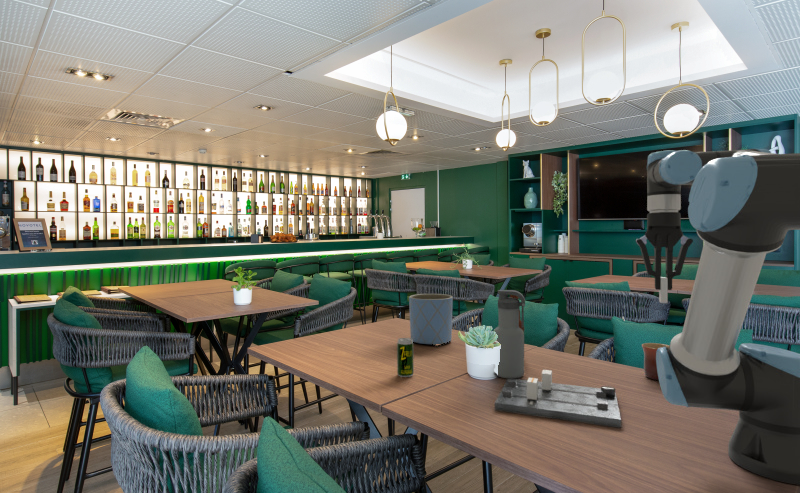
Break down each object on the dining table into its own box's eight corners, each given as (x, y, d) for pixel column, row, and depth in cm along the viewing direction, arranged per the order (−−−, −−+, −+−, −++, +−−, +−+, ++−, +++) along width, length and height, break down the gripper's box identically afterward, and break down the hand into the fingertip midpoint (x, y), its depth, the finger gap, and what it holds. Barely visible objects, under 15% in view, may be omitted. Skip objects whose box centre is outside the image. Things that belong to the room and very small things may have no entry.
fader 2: (551, 390, 125) (551, 374, 125) (541, 389, 126) (541, 373, 126) (551, 385, 129) (551, 370, 129) (542, 384, 130) (542, 369, 130)
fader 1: (536, 399, 118) (536, 382, 118) (527, 398, 119) (526, 381, 119) (538, 394, 122) (538, 378, 122) (528, 393, 123) (528, 377, 123)
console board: (621, 427, 106) (621, 411, 106) (494, 410, 117) (494, 395, 117) (614, 396, 126) (614, 383, 126) (507, 384, 138) (507, 372, 138)
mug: (637, 373, 148) (638, 342, 148) (666, 374, 146) (666, 343, 146) (650, 384, 136) (650, 351, 136) (682, 386, 134) (682, 352, 134)
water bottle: (525, 371, 151) (525, 289, 150) (525, 380, 141) (525, 292, 141) (494, 369, 153) (494, 288, 153) (492, 378, 144) (492, 292, 143)
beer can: (395, 373, 149) (395, 338, 149) (410, 372, 151) (410, 337, 151) (400, 378, 144) (399, 342, 144) (415, 377, 146) (415, 340, 145)
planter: (460, 340, 198) (459, 295, 197) (440, 349, 181) (440, 300, 181) (422, 335, 208) (422, 292, 207) (401, 343, 192) (400, 297, 191)
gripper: (689, 212, 116) (689, 301, 117) (633, 213, 121) (633, 299, 122) (696, 210, 109) (696, 305, 110) (637, 212, 114) (636, 303, 115)
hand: (663, 302), depth 116 cm, fingers closed
